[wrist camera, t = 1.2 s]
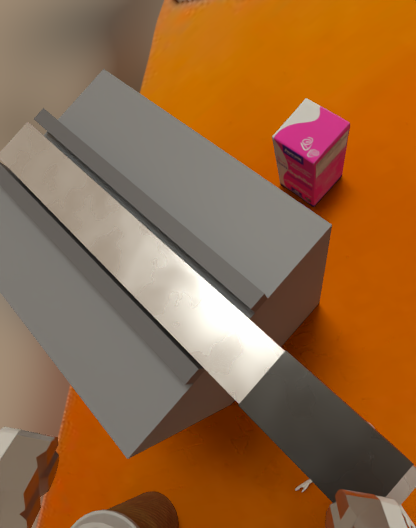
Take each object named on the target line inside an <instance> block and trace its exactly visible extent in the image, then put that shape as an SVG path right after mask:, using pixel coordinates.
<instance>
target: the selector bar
mask: <svg viewBox="0 0 416 528" xmlns="http://www.w3.org/2000/svg"><path fill="white" fill-rule="evenodd" d="M0 160H1V161H2V162H3V163H4V164H5V165H6V166H7V167H8V168H9V169H10V170H11V171H12V172H13V173H14V174H15V175H16V176H17V177H18V178H19V179H20V180H21V181H22V182H23V183H24V184H25V185H26V186H27V187H28V188H29V189H30V190H31V191H32V192H33V193H34V194H35V195H36V196H37V198H38V199H39V200H40V201H41V202H42V203H43V204H44V205H45V206H46V207H47V208H48V209H49V210H50V211H51V212H52V213H53V214H54V215H55V216H56V217H57V218H58V219H59V220H60V221H61V222H62V223H63V224H64V225H65V226H66V227H67V228H68V229H69V230H70V231H71V232H72V233H73V234H74V235H75V236H76V237H77V239H78V240H79V241H80V242H81V243H82V244H83V245H84V246H85V247H86V248H87V249H88V250H89V251H90V252H91V253H92V254H93V255H94V256H95V257H96V258H97V259H98V260H99V261H100V262H101V263H102V264H103V265H104V266H105V267H106V268H107V269H108V270H109V271H110V272H111V273H112V274H113V275H114V276H115V277H116V278H117V279H118V281H119V282H120V283H121V284H122V285H123V286H124V287H125V288H126V289H127V290H128V291H129V292H130V293H131V294H132V295H133V296H134V297H135V298H136V299H137V300H138V301H139V302H140V303H141V304H142V305H143V306H144V307H145V308H146V309H147V310H148V311H149V312H150V313H151V314H152V315H153V316H154V317H155V318H156V319H157V320H158V322H159V323H160V324H161V325H162V326H163V327H164V328H165V329H166V330H167V331H168V332H169V333H170V334H171V335H172V336H173V337H174V338H175V339H176V340H177V341H178V342H179V343H180V344H181V345H182V346H183V347H184V348H185V349H186V350H187V351H188V352H189V353H190V354H191V355H192V356H193V357H194V358H195V359H196V360H197V361H198V363H199V364H200V365H201V366H202V367H203V368H204V369H205V370H206V371H207V372H208V373H209V374H210V375H211V376H212V377H213V378H214V379H215V380H216V381H217V382H218V383H219V384H220V385H221V386H222V387H223V388H224V389H225V390H226V391H227V392H228V393H229V394H230V395H231V396H232V397H233V398H234V399H235V400H236V401H237V402H238V404H239V405H238V406H239V407H240V408H241V409H242V410H243V411H244V412H245V413H246V414H247V415H248V416H249V417H250V418H251V419H252V420H253V421H254V422H255V423H256V424H257V425H258V426H259V427H260V428H261V429H262V430H263V431H264V432H265V433H266V434H267V435H268V436H269V437H270V438H271V439H272V440H273V441H274V443H275V444H276V445H277V446H278V447H279V448H280V449H281V450H282V451H283V452H284V453H285V454H286V455H287V456H288V457H289V458H290V459H291V460H292V461H293V462H294V463H295V464H296V465H297V466H298V467H299V468H300V469H301V470H302V471H303V472H304V473H305V474H306V475H307V476H308V477H309V478H310V480H311V481H312V482H313V483H314V484H315V485H316V486H317V487H318V488H319V489H320V490H321V491H322V492H323V493H324V494H325V495H326V496H327V497H328V498H329V499H330V500H331V501H332V502H333V503H335V502H336V498H335V495H336V493H337V491H338V490H340V489H344V490H350V491H356V492H362V493H368V494H374V495H377V496H383V497H389V498H392V499H395V501H396V502H397V503H398V505H399V506H400V505H401V504H402V503H403V501H404V500H405V499H406V498H407V497H408V496H409V494H410V493H411V492H412V491H413V490H414V488H415V487H416V467H415V466H414V465H413V463H412V462H411V461H410V460H409V459H408V458H407V457H406V456H405V455H403V454H402V453H401V452H400V451H399V450H398V449H397V448H396V447H395V446H394V445H393V444H391V443H390V442H389V441H388V440H387V439H386V438H385V437H384V436H382V435H381V434H380V433H379V432H378V431H377V430H376V429H375V428H373V427H372V426H371V425H370V424H369V423H368V422H367V421H366V420H364V419H363V418H362V417H361V416H360V415H359V414H358V413H357V412H355V411H354V410H353V409H352V408H351V407H350V406H349V405H348V404H346V403H345V402H344V401H343V400H342V399H341V398H340V397H339V396H337V395H336V394H335V393H334V392H333V391H332V390H331V389H330V388H328V387H327V386H326V385H325V384H324V383H323V382H322V381H321V380H319V379H318V378H317V377H316V376H315V375H314V374H313V373H312V372H310V371H309V370H308V369H307V368H306V367H305V366H304V365H303V364H301V363H300V362H299V361H298V360H297V359H296V358H295V357H294V356H292V355H291V354H290V353H289V352H288V351H286V350H284V349H283V348H282V347H281V346H280V345H279V344H277V343H276V342H275V341H274V340H273V339H272V338H271V337H270V336H268V335H267V334H266V333H265V332H264V331H263V330H262V329H261V328H259V327H258V326H257V325H256V324H255V323H254V322H253V321H252V320H250V319H249V318H248V317H247V316H246V315H245V314H244V313H243V312H241V311H240V310H239V309H238V308H237V307H236V306H235V305H234V304H233V303H231V302H230V301H229V300H228V299H227V298H226V297H225V296H224V295H222V294H221V293H220V292H219V291H218V290H217V289H216V288H215V287H213V286H212V285H211V284H210V283H209V282H208V281H207V280H206V279H204V278H203V277H202V276H201V275H200V274H199V273H198V272H197V271H195V270H194V269H193V268H192V267H191V266H190V265H189V264H188V263H186V262H185V261H184V260H183V259H182V258H181V257H180V256H179V255H178V254H176V253H175V252H174V251H173V250H172V249H171V248H170V247H169V246H167V245H166V244H165V243H164V242H163V241H162V240H161V239H160V238H158V237H157V236H156V235H155V234H154V233H153V232H152V231H151V230H149V229H148V228H147V227H146V226H145V225H144V224H143V223H142V222H140V221H139V220H138V219H137V218H136V217H135V216H134V215H133V214H132V213H130V212H129V211H128V210H127V209H126V208H125V207H124V206H123V205H121V204H120V203H119V202H118V201H117V200H116V199H115V198H114V197H112V196H111V195H110V194H109V193H108V192H107V191H106V190H105V189H103V188H102V187H101V186H100V185H99V184H98V183H97V182H96V181H94V180H93V179H92V178H91V177H90V176H89V175H88V174H87V173H85V172H84V171H83V170H82V169H81V168H80V167H79V166H78V165H77V164H75V163H74V162H73V161H72V160H71V159H70V158H69V157H68V156H66V155H65V154H64V153H63V152H62V151H61V150H60V149H59V148H57V147H56V146H55V145H54V144H53V143H52V142H51V141H50V140H48V139H47V138H46V137H45V136H44V135H43V134H41V133H40V132H39V131H38V130H37V129H35V128H34V127H33V126H32V125H31V124H30V123H28V122H27V123H26V124H25V125H24V126H23V127H22V129H21V130H20V131H19V132H18V133H17V134H16V135H15V136H14V137H13V139H12V140H11V141H10V142H9V143H8V144H7V145H6V146H5V147H4V148H3V149H2V151H1V152H0Z"/></svg>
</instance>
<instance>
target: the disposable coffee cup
mask: <svg viewBox="0 0 416 528" xmlns="http://www.w3.org/2000/svg"><path fill="white" fill-rule="evenodd" d="M71 528H178V517H177V513H176V511H175V508H174V506H173V504H172V503H171V502H170V500H169V499H168V498H167V497H165V496H164V495H162V494H160V493H158V492H146V493H143V494H141V495H139V496H137V497H134V498H132V499H130V500H128V501H125V502H123V503H121V504H119V505H116V506H114V507H112V508H110V509H107V510H99V511H93V512H91V513H88V514H86V515H84V516H83V517H82V518H80V519H79V520H77V521H76V522H75V523H74V524H73V526H72V527H71Z"/></svg>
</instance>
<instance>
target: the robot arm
mask: <svg viewBox="0 0 416 528" xmlns="http://www.w3.org/2000/svg"><path fill="white" fill-rule="evenodd" d="M57 446H58V437H55V436H50V435H44V434H40V433H34V432H29V431H24V430H20V429H15V428H8V427H3V428H2V429H1V430H0V528H31V527H32V525H33V523H34V521H35V518H36V516H37V514H38V512H39V510H40V508H41V505H40V497H41V496H42V495H44V494H45V493H47V492H48V491H49V489H50V487H51V485H52V483H53V480H54V478H55V475H56V471H57V468H58V463H59V455H58V453H57V452H56V451H55V450H56V448H57ZM335 498H336V502H335V503H333V504H331V505H330V506H329V508H328V510H327V512H326V520H325V527H326V528H407V525H406V523H405V520H404V518H403V515H402V513H401V510H400V508H399V505H398V503H397V502H396V501H395V499H392V498H389V497H383V496H377V495H374V494H368V493H362V492H356V491H350V490H344V489H340V490H338V491H337V493H336V495H335Z"/></svg>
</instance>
